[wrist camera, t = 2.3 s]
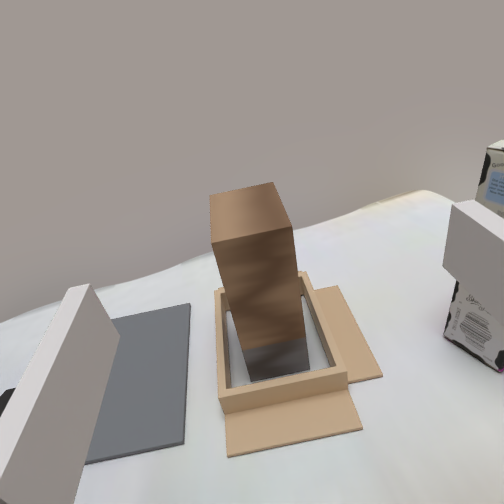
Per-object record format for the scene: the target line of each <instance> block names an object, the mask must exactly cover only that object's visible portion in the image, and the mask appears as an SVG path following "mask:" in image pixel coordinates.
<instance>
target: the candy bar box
mask: <svg viewBox="0 0 504 504" xmlns="http://www.w3.org/2000/svg"><path fill="white" fill-rule="evenodd" d="M475 201H476V202H478V203H480V204H481V205H483V206H484V207H486V208H487V209H489V210H491V211H492V212H494V213H495V214H497V215H498V216H500V217H502V218H503V219H504V139H502V140H500V141H498V142H496V143H494V144H492V145H490V146H488V147H487V152H486V156H485V161H484V165H483V169H482V174H481V178H480V182H479V185H478V191H477V195H476V198H475ZM443 335H444V336H445V337H446V338H447V339H449V340H450V341H452V342H453V343H455V344H456V345H458V346H460V347H461V348H463V349H465V350H466V351H467V352H469V353H471V354H472V355H473V356H475V357H476V358H478V359H479V360H481V361H482V362H483V363H485V364H486V365H488V366H490V367H492V368H493V369H495V370H496V371H498V372H502V371H503V370H504V327H503V326H502V325H501V324H500V323H499V322H498V321H497V320H496V319H495V318H494V317H493V316H492V315H491V314H490V313H489V312H488V311H487V310H486V309H485V308H484V307H483V306H482V305H481V304H480V303H479V302H478V301H477V300H476V299H475V298H474V297H473V296H472V295H471V294H470V293H469V292H468V291H467V290H466V289H465V288H464V287H463V286H462V285H461V284H460V283H459V282H458V281H457V280H456V284H455V289H454V293H453V297H452V301H451V305H450V309H449V314H448V318H447V322H446V326H445V331H444V333H443Z"/></svg>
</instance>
